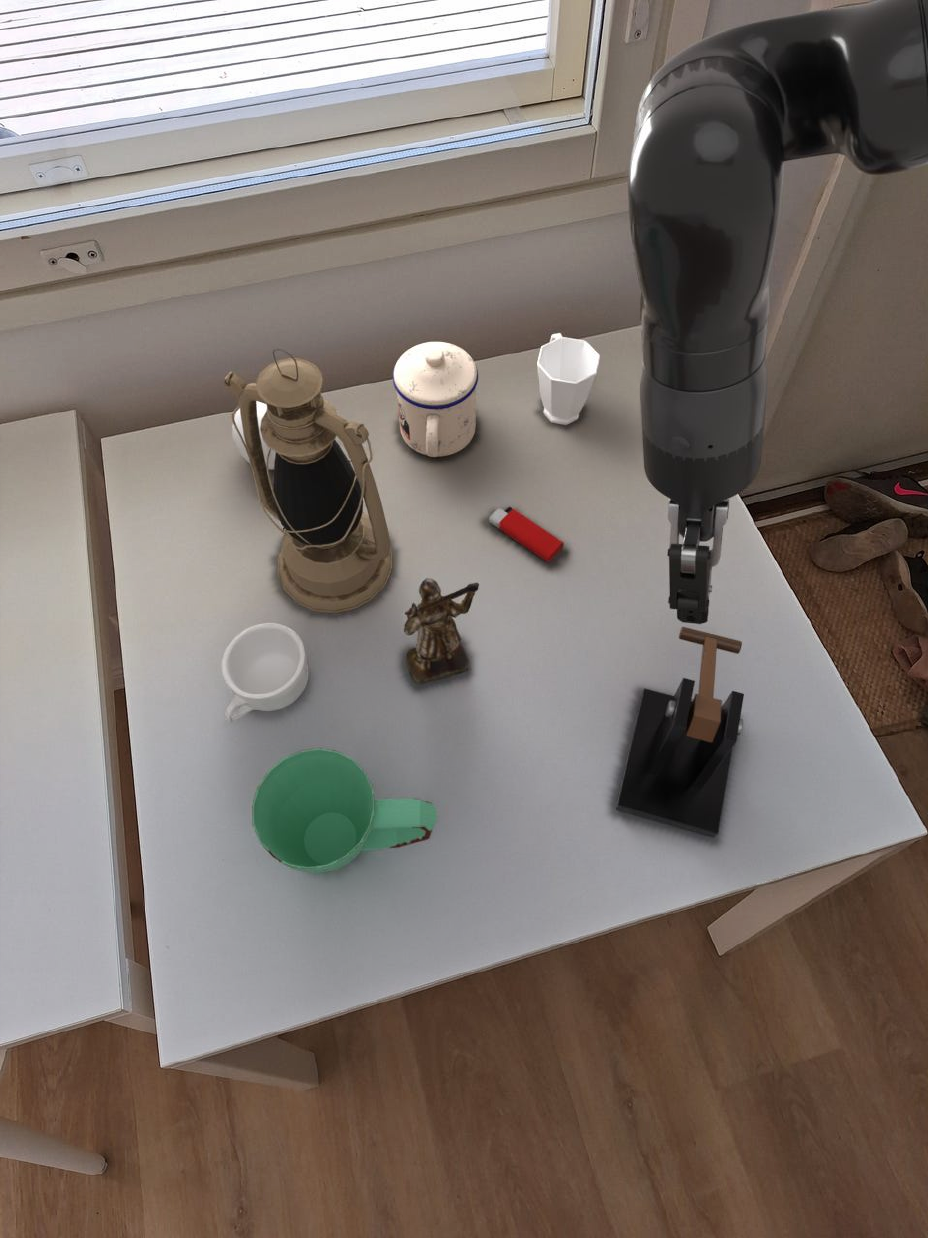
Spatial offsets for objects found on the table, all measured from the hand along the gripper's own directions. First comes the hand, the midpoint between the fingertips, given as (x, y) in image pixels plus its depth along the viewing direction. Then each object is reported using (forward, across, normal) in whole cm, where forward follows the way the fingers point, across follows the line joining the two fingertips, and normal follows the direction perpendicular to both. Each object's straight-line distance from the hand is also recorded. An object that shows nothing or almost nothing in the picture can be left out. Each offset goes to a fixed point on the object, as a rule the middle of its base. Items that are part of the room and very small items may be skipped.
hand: (699, 574), depth 68 cm
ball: (+8, +18, +49) cm, 53 cm away
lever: (+13, -2, -1) cm, 13 cm away
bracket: (+21, -6, +1) cm, 22 cm away
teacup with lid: (+12, +26, +32) cm, 43 cm away
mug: (+17, -20, +27) cm, 38 cm away
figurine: (+16, -1, +24) cm, 29 cm away
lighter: (+15, +15, +20) cm, 29 cm away
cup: (+13, +35, +20) cm, 42 cm away
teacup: (+13, -9, +40) cm, 43 cm away
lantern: (+12, +7, +38) cm, 40 cm away
